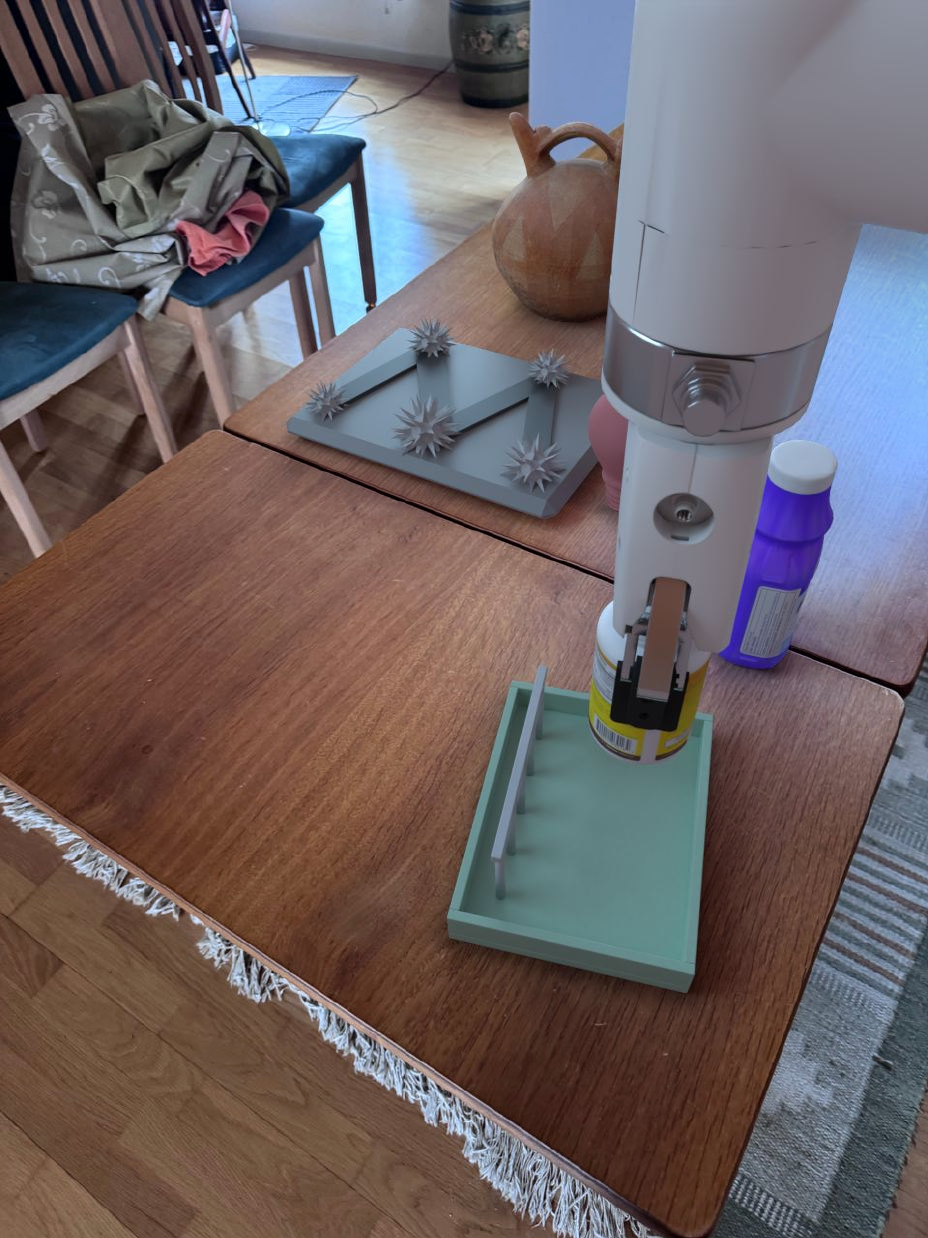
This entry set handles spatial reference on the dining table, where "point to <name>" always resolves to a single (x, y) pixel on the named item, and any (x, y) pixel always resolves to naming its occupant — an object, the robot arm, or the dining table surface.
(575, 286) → the jug
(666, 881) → the dish rack
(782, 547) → the bottle
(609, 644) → the supplement bottle
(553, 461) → the decorative plate
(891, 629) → the dining table surface
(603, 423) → the light bulb
